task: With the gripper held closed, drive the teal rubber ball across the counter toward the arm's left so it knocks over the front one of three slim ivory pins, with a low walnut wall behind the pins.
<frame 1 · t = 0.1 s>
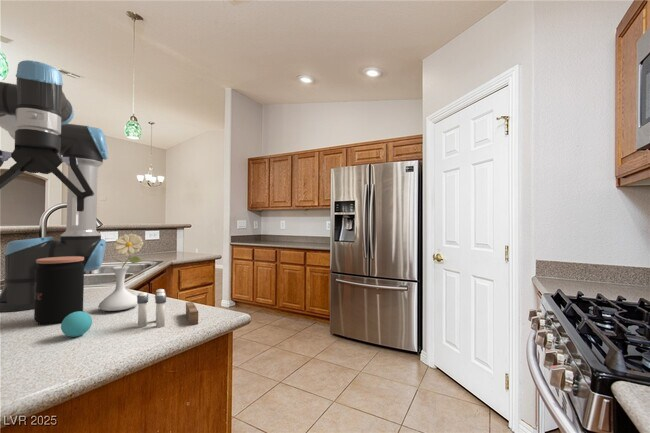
hand: (36, 225, 67), 28 cm above the table, tool pointing down, fingers open, 13 cm apart
back wall: (191, 318, 88), on the table
right back pin: (160, 326, 81), on the table
ball: (76, 323, 74), on the table
coffee jar: (59, 320, 87), on the table
left back pin: (159, 320, 86), on the table
flower in vase: (122, 309, 98), on the table
front pin: (142, 326, 81), on the table
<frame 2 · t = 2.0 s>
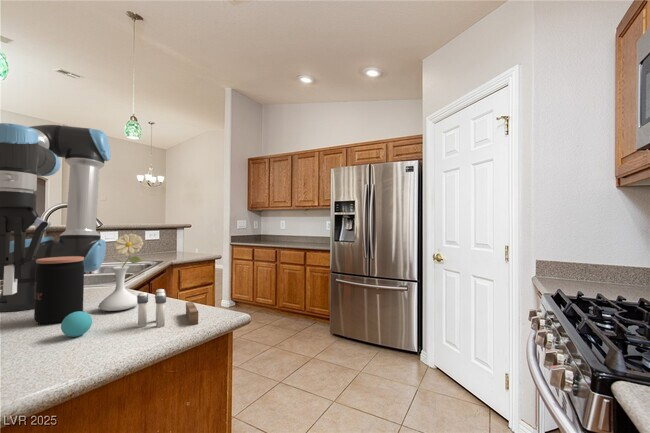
hand: (10, 293, 68), 12 cm above the table, tool pointing down, fingers closed
nothing on the table moved.
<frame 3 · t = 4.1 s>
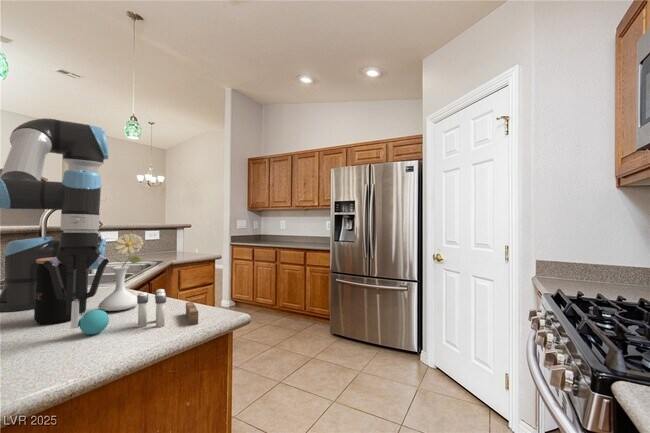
hand: (75, 326, 73), 3 cm above the table, tool pointing down, fingers closed
ball: (94, 321, 76), on the table, touching gripper
everything else where it was.
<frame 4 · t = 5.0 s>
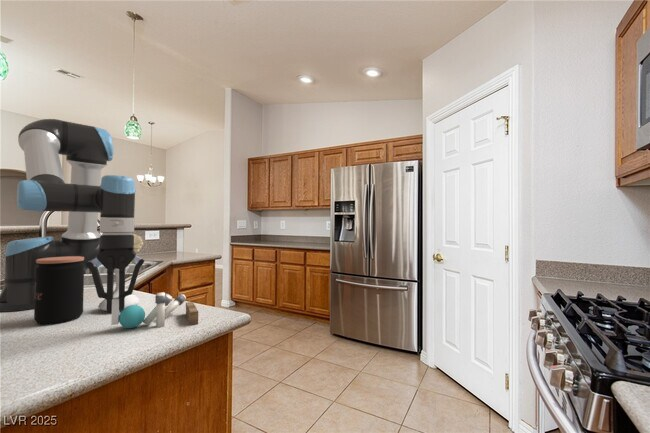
hand: (115, 322, 78), 2 cm above the table, tool pointing down, fingers closed
ball: (132, 316, 80), on the table, touching front pin, gripper
left back pin: (161, 317, 86), point 1 cm above the table, tilted 63°
front pin: (145, 323, 82), point 1 cm above the table, tilted 40°, touching ball
everything else where it was.
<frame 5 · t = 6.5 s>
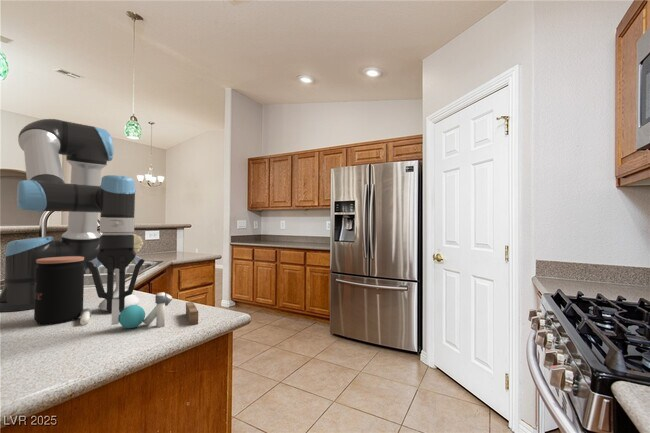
hand: (115, 322, 78), 2 cm above the table, tool pointing down, fingers closed
left back pin: (84, 321, 82), point 1 cm above the table, tilted 87°
everything else where it was.
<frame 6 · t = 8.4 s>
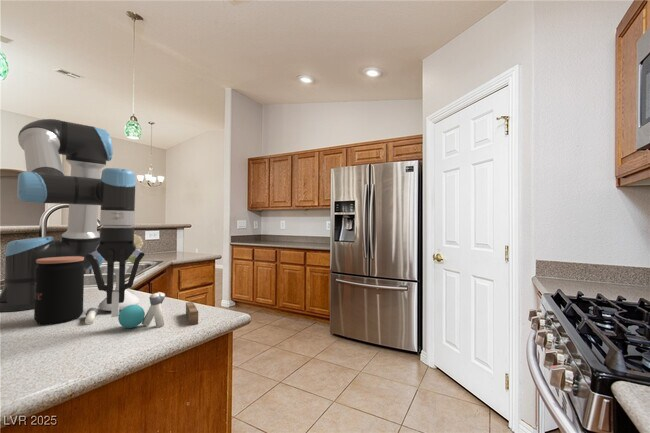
hand: (115, 315, 78), 4 cm above the table, tool pointing down, fingers closed
right back pin: (160, 325, 81), on the table, tilted 11°
ball: (131, 316, 80), on the table, touching front pin
left back pin: (89, 320, 82), point 1 cm above the table, tilted 87°
front pin: (145, 324, 81), on the table, tilted 25°, touching ball
everything else where it was.
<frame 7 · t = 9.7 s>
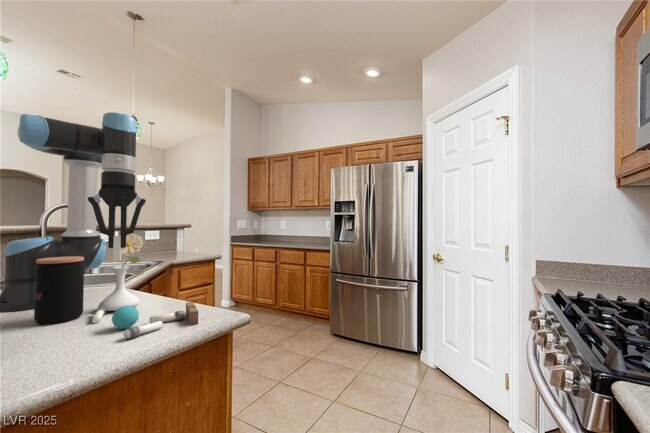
hand: (117, 260, 79), 18 cm above the table, tool pointing down, fingers closed
right back pin: (160, 324, 79), point 1 cm above the table, tilted 87°
ball: (125, 317, 80), on the table
left back pin: (96, 319, 83), point 1 cm above the table, tilted 87°
front pin: (149, 320, 83), point 1 cm above the table, tilted 87°
everything else where it was.
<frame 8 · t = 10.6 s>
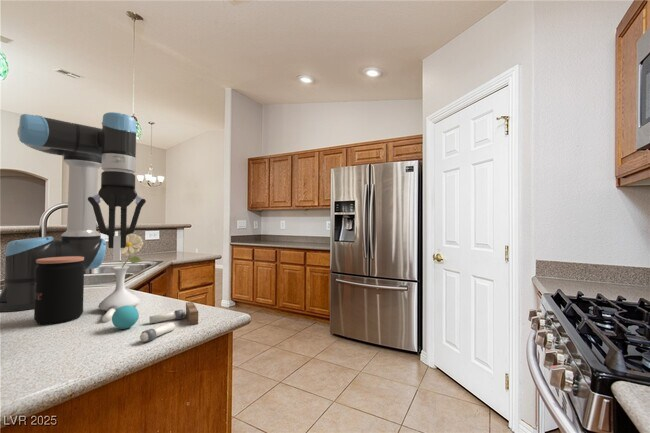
hand: (117, 260, 79), 18 cm above the table, tool pointing down, fingers closed
right back pin: (171, 326, 78), point 1 cm above the table, tilted 87°
left back pin: (106, 318, 84), point 1 cm above the table, tilted 87°
at the end: front pin tilted 87°; front pin never touched the robot; ball moved 10.1 cm from its start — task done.
